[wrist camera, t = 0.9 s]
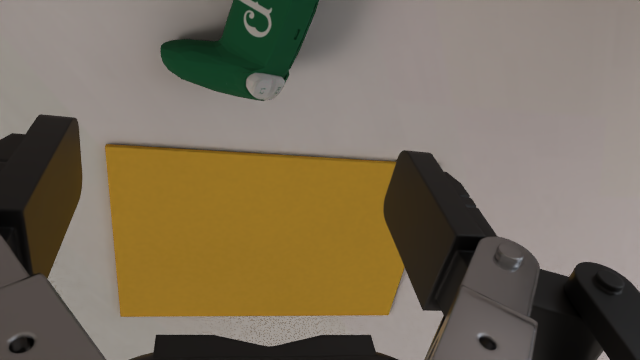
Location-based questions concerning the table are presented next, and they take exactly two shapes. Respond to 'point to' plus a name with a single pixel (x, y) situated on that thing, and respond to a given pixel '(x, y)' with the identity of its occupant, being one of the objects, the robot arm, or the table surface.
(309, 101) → the table surface
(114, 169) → the cloth
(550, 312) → the robot arm
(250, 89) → the gaming controller
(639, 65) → the table surface
